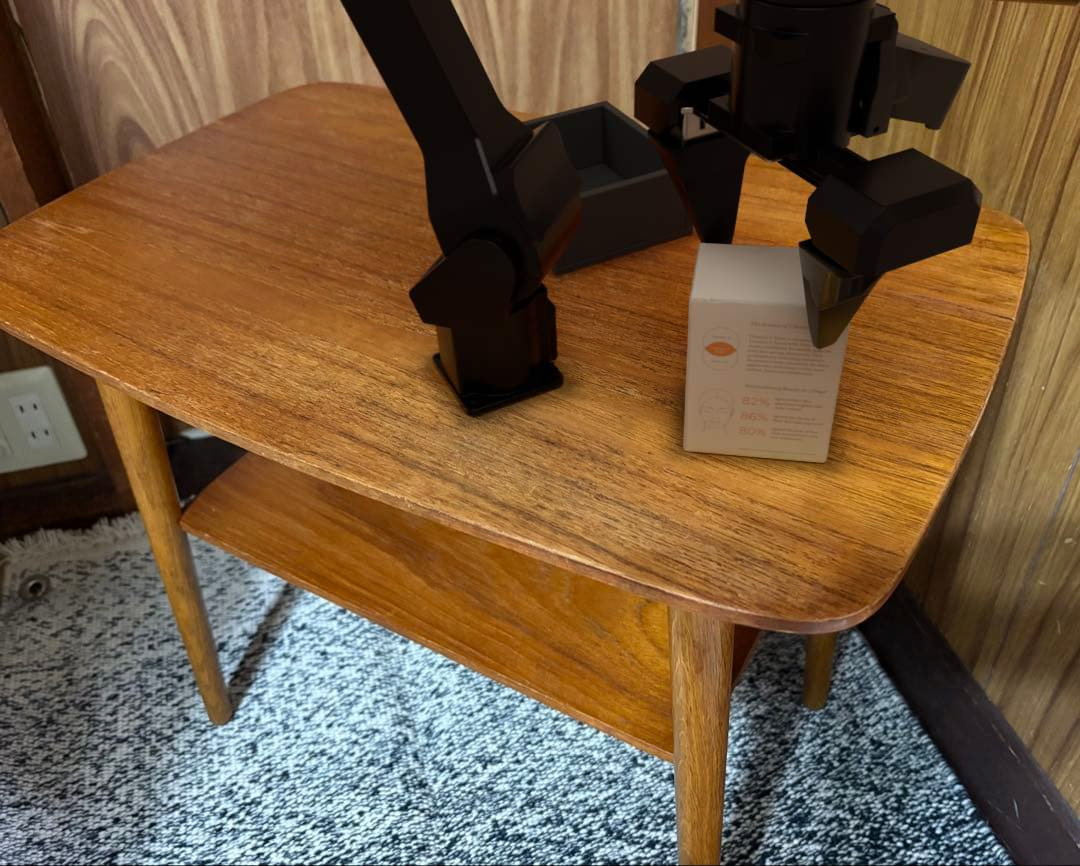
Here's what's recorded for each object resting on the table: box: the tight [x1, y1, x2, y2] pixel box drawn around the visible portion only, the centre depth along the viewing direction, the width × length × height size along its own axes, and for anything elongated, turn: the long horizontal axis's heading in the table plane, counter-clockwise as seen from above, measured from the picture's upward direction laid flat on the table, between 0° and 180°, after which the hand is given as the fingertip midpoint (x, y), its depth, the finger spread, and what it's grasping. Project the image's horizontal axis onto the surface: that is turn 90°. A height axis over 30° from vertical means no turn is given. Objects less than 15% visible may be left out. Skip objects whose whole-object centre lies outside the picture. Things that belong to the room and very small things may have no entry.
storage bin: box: [522, 100, 694, 277], centre depth 75 cm, size 11×13×6 cm
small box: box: [682, 242, 851, 464], centre depth 53 cm, size 8×6×10 cm
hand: (767, 299), depth 51 cm, fingers open, 9 cm apart
